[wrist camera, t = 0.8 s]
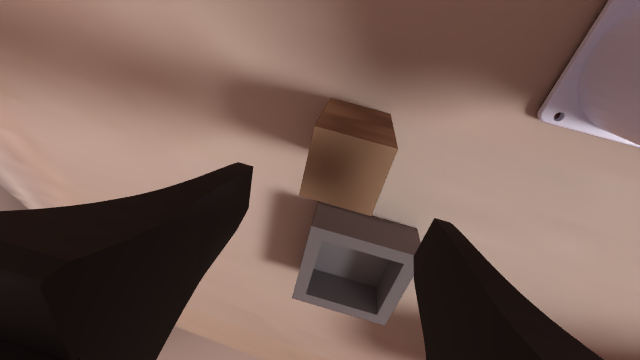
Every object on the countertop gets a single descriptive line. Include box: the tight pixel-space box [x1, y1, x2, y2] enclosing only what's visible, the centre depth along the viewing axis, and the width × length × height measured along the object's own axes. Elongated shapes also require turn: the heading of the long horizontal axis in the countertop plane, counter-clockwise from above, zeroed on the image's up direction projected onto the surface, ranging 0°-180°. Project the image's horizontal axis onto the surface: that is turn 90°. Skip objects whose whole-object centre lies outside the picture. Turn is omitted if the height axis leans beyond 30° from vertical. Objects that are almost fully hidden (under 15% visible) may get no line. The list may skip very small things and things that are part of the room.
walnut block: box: [299, 98, 398, 216], centre depth 16 cm, size 4×4×6 cm
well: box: [292, 201, 421, 326], centre depth 23 cm, size 8×8×3 cm
